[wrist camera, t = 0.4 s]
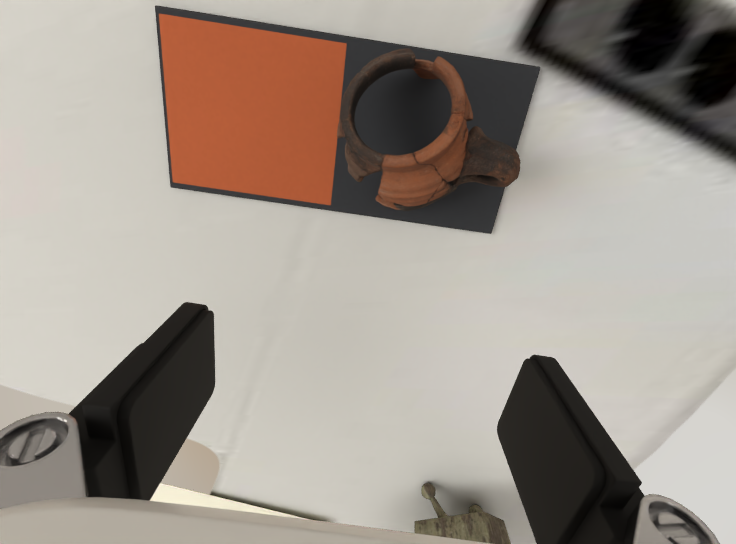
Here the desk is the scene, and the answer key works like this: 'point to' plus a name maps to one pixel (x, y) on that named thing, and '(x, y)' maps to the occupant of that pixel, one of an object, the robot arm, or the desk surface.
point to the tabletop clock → (462, 523)
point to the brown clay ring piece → (437, 160)
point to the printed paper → (206, 500)
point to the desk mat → (318, 115)
